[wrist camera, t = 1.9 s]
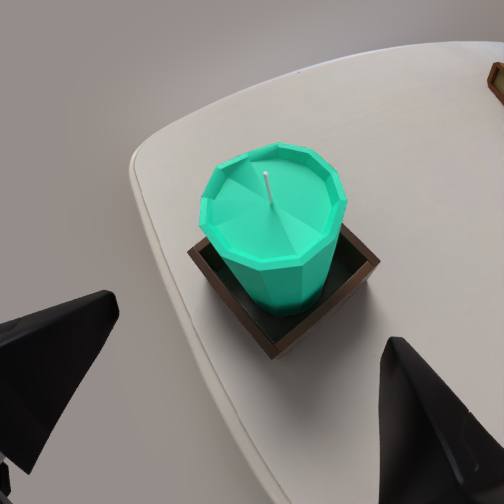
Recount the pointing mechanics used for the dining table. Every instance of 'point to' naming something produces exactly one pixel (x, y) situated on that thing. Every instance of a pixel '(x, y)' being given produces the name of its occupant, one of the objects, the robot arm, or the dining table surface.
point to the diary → (497, 80)
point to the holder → (358, 265)
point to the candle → (275, 223)
